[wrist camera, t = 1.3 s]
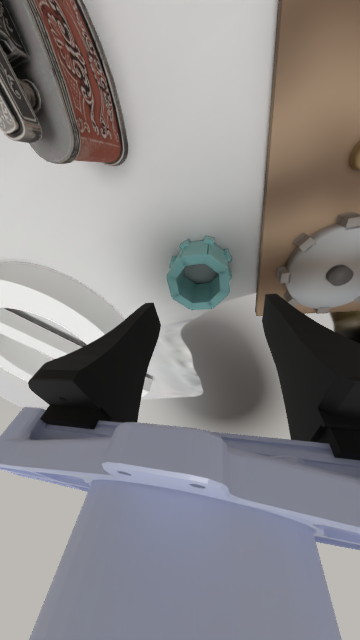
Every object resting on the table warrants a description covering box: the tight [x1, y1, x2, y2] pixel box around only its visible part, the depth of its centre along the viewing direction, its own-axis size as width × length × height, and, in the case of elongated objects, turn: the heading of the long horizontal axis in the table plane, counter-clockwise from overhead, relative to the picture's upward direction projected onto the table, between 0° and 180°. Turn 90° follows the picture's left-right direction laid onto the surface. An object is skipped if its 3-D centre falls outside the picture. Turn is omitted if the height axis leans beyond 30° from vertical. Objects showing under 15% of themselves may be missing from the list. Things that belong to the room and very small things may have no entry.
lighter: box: [0, 0, 128, 166], centre depth 9 cm, size 8×3×10 cm, turn 14°
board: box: [255, 0, 360, 316], centre depth 13 cm, size 23×12×4 cm, turn 11°
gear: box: [167, 236, 232, 310], centre depth 18 cm, size 6×6×4 cm
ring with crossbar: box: [0, 262, 152, 398], centre depth 31 cm, size 28×28×5 cm
